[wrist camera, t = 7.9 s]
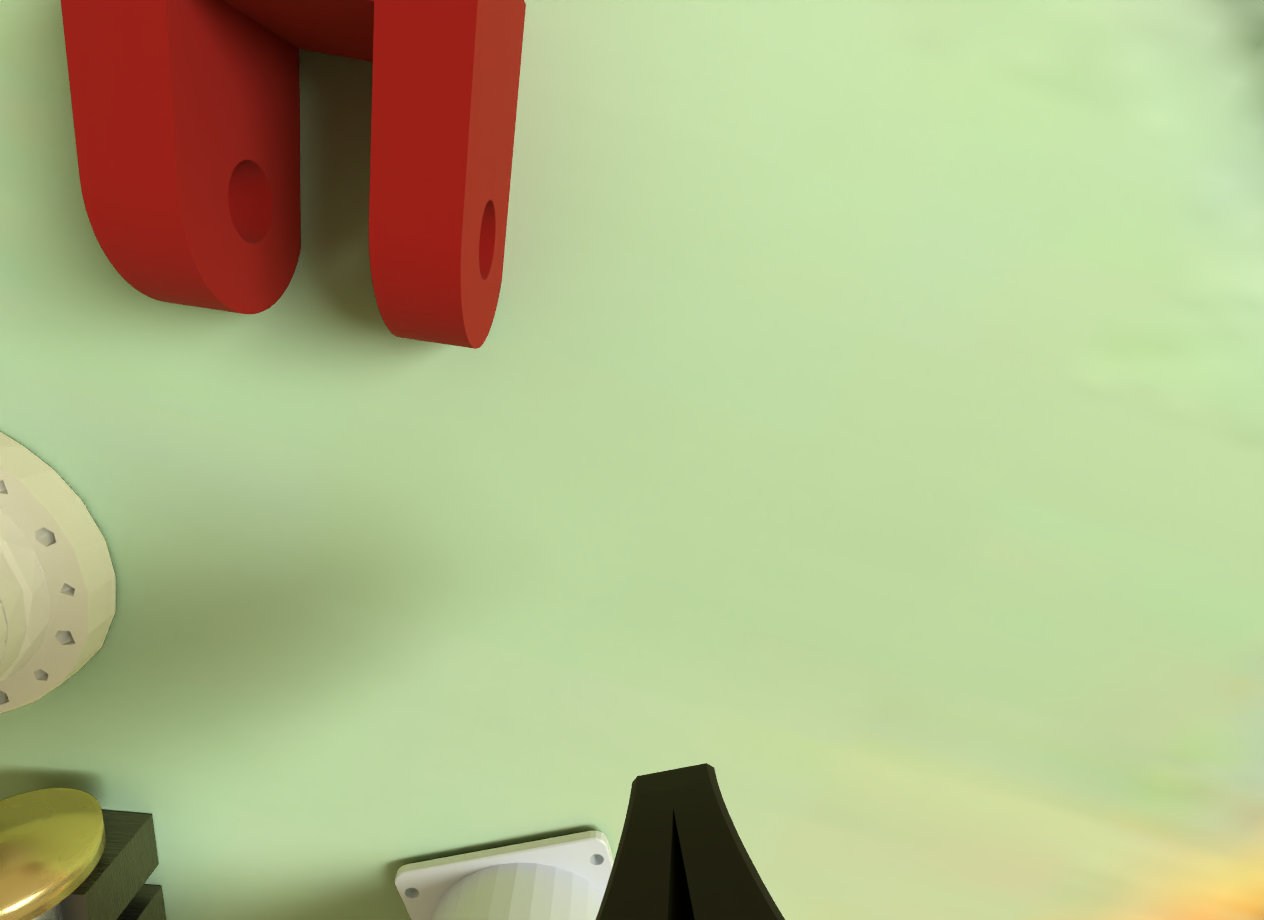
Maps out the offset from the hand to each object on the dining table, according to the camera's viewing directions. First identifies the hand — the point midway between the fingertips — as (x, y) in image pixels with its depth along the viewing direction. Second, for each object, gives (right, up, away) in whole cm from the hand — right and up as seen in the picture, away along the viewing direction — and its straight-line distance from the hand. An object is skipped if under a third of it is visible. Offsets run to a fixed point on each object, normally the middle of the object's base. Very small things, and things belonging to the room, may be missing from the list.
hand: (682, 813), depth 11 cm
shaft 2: (-20, -8, +12) cm, 25 cm away
